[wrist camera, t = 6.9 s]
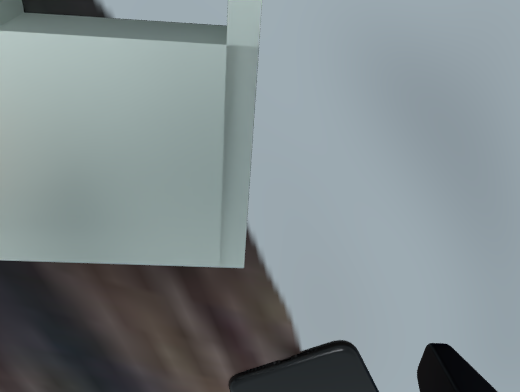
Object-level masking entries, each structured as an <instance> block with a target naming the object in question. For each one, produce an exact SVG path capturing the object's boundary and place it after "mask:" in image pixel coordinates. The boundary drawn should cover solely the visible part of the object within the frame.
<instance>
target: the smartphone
mask: <svg viewBox="0 0 520 392" xmlns="http://www.w3.org/2000/svg"><path fill="white" fill-rule="evenodd" d="M229 389H230V392H379V391H378V389H377V387H376V385H375V383H374V381H373V379H372V377H371V375H370V373H369V371H368V369H367V367H366V365H365V363H364V361H363V359H362V357H361V355H360V354H359V351H358V350H357V348H356V347H355V346H354V345H353V344H352V343H350V342H348V341H345V340H337V341H331V342H328V343H325V344H322V345H319V346H316V347H312V348H309V349H306V350H303V351H302V353H300V354H297V355H294V356H291V359H290V360H288V361H285V362H284V361H282V362H280V361H275V362H272V363H269V364H266V365H263V366H260V367H256V368H253V369H250V370H247V371H244V372H241V373H238V374H236V375H234V376H233V377H232V378H231V379H230V380H229Z"/></svg>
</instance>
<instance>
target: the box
mask: <svg viewBox="0 0 520 392" xmlns="http://www.w3.org/2000/svg"><path fill="white" fill-rule="evenodd" d="M261 10H262V0H228V16H227V17H228V19H227V26H223V25H207V24H192V23H176V22H161V21H147V20H131V19H116V18H101V17H86V16H70V15H55V14H40V13H24V9H23V3H22V0H0V260H10V261H41V262H71V263H102V264H133V265H163V266H194V267H225V268H244V259H245V244H246V230H247V215H248V200H249V186H250V171H251V155H252V142H253V126H254V112H255V97H256V83H257V68H258V54H259V39H260V25H261V24H260V23H261Z"/></svg>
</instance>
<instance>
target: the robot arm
mask: <svg viewBox="0 0 520 392" xmlns="http://www.w3.org/2000/svg"><path fill="white" fill-rule="evenodd" d="M417 378H418V384H419V389H420V392H497V391H496V390H495V389H494V388H493V387H492V386H491V385H490V384H489V383H488V382H487V381H486V380H485V379H484V378H483V377H482V376H481V375H480V374H479V373H478V372H477V371H476V370H475V369H474V368H473V367H472V366H471V365H470V364H469V363H468V362H466V361H465V360H464V359H463V358H462V357H461V356H460V355H459V354H458V353H457V352H456V351H455V350H454V349H453V348H452V347H451V346H449V345H448V344H443V343H442V344H441V343H430V344H428V345H427V346H426V348H425V351H424V353H423V356H422V358H421V361H420V363H419V366H418V370H417Z"/></svg>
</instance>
